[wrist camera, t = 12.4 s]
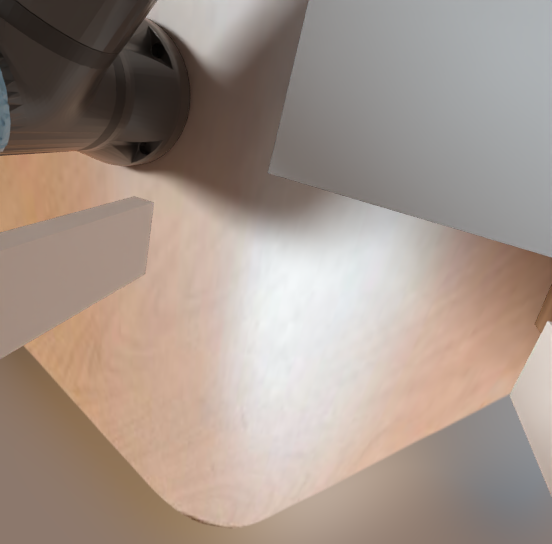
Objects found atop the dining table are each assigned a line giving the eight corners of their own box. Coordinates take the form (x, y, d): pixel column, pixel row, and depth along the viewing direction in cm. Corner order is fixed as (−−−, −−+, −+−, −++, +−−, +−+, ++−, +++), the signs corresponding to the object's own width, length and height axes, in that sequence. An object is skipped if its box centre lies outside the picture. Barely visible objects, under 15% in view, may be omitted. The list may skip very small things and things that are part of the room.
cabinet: (331, 167, 43) (262, 195, 23) (384, -19, 38) (356, -204, 17) (600, 245, 39) (815, 366, 18) (708, 46, 33) (1194, -101, 13)
